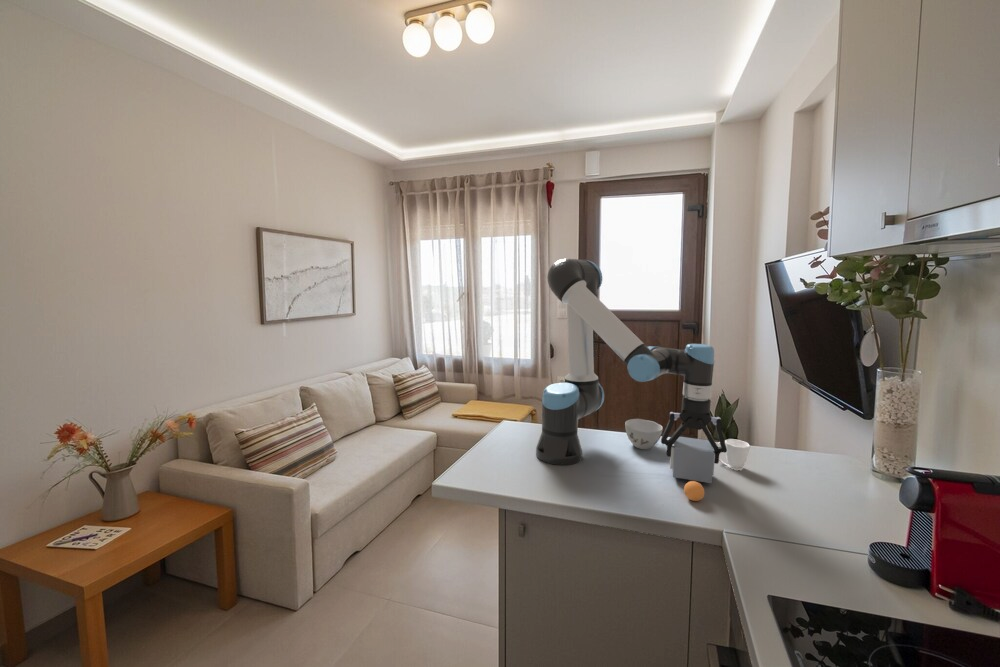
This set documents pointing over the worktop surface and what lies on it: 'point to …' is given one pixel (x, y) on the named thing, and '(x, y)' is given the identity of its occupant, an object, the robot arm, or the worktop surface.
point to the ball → (694, 491)
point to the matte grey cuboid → (693, 459)
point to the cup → (736, 453)
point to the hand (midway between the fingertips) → (691, 469)
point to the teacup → (643, 432)
